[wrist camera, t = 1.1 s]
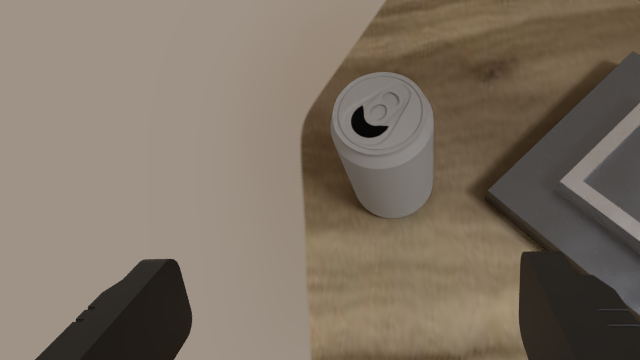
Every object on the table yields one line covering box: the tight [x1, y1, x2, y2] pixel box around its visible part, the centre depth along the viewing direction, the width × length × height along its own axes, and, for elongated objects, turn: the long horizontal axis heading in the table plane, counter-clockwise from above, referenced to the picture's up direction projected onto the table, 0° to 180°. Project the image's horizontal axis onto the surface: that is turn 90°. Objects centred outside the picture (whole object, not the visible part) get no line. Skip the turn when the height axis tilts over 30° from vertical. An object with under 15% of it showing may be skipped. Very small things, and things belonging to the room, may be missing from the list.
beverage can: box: [330, 72, 434, 218], centre depth 33 cm, size 6×6×12 cm
